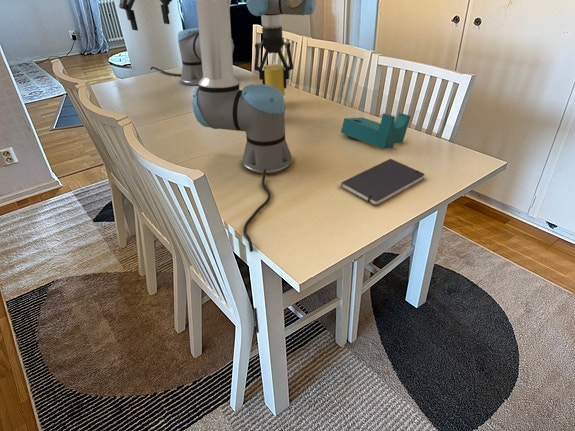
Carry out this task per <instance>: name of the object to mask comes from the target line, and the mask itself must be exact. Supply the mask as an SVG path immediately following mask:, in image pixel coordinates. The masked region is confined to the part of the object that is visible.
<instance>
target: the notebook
mask: <svg viewBox="0 0 575 431" xmlns="http://www.w3.org/2000/svg"><path fill="white" fill-rule="evenodd" d="M424 176H425V173H424V172H422V171H420V170H417V169H415V168H413V167H410V166H408V165H406V164H404V163H401V162H399V161H397V160H395V159H393V158H389V159H387V160H385V161H382V162H380V163H379V164H377V165H375V166H372V167H370V168H368V169H366V170H364V171H362V172H360V173H358V174H356V175H353V176H351V177H350V178H348V179H345V180H344V181H341V182H340V183H341V184H340V187H341V188H342V189H344V190H345V191H347V192H349V193H350V194H353V195H355V196H356V197H358V198H360V199H362V200H363V201H365V202H367V203H369V204H371V205H373V206H379V205H381V204H382V203H384V202H386V201H388V200H390V199H391V198H393V197H395V196H397V195H398V194H400V193H402V192H404V191H406V190H407V189H409V188H411V187H413V186H415V185H416V184H418V183H420V182H422V181H423V180H424Z"/></svg>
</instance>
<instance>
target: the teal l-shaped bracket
mask: <svg viewBox="0 0 575 431" xmlns="http://www.w3.org/2000/svg"><path fill="white" fill-rule="evenodd" d="M411 117H412V116H411V115H408V114H407V113H404V112H403V113H402V112H398V115H397V117H396V116H394V115H391V114H389V113H382V117H381V120H380V122H378V121H375V120H371V119H369V118H365V117H344V118H343V122H342V126H341V131H340V133H341V134H344V135H345V136H347V137H348V136H349V137H351V138H353V139H356V140H359V141H361V142H363V143H367V144H368V145H372V146H374V147H377V148H379V149H382V150H389V149H394V145H396V144H403V143H404V139H405V138H406V137H405V136H406V133H407V129H408V126H409V123H410V119H411Z"/></svg>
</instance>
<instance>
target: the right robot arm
mask: <svg viewBox="0 0 575 431" xmlns="http://www.w3.org/2000/svg"><path fill="white" fill-rule="evenodd" d="M316 4H317V0H246V7H247V9H248V11H249V13H250V14H252V15H253V16H255V17H261V26H262V28H261V33H262V34H261V35H262V36H261V37H262V39H261V42H258V41H257V42H256V41H255V43H254V48H255V56H254V67H253V69H254V71H257V72H258V76H259V80H260V81H262V83H252V84H247V85H245V86H243V88H242V89H240V81H239V80H238V79H237V78H236V77H235V76H234V63H233V60H234V59H233V54H232V43H231V38H232V28H231V26H232V25H231V10H230V9H231V6H230V7H229V0H195V5H196V13H197V14H196V15H197V25H198V26H197V28H199V37H200V48H201V59H202V70H203V78H202V79H201V80H200V81H199V83H198V85H197V86H198V87H196V88H195V89H194V91H193V93H192V99H191V106H192V111H193V115H194V118H195V119H196V121H197V122H198V123H199V124H200V125H201V126H203V127H204V128H210V129H213V130H228V131H237V132H244V133H245V136H246V137H245V138H246V143H245V146H244V151H243V155H242V166H243V168H244V170H246V171H247V172H249V173H252V174H254V175H255V174H256V175H262V177H261V178H262V179H261V185H262V188H263V189H264V190H265V192H266V193H267V197H266V200H265V201H264V202H263V203H261V205H259V207H257V208H256V210H254V212H253V213H252V214H251V215H250V217H249V218H248V219H247V220H246V222H245V223H244V226H243V236H244V238H245V239H246V240H247V242H248V246H249V247H248V248H249V252H250V253H252V252H254V247H253V242H252V238H251V237H250V235H249V234H248V232H247V229H248V226H249V224H250V223H251V222H252V220H253V219H254V218H255V217H256V216H257V215H258V213H259V212H260V211H261V210H262V209H263V208H264V207H265V206H267V204H268V203H269V202H270V200H271V196H272V194H271V192H270V190H269V188H267V186H266V183H265V182H266V176H269V175H277V174H280V173H283V172H286V171H287V170H289V169H290V167H291V166H292V163H293V158H292V153H291V150H290V148H289V145H288V143H287V140H286V115H285V114H286V105H285V98H284V96H283V94H282V93H281V91H279V90H278V89H277V88H275V87H273V86H269V85H265V80H264V66H265V63H266V61H267V59H268V55H269V54H277V55H278V57H279V59H280V61H281V64H282V65H283V66H284V88H285V89H287V80H289V79H290V71H293V70H294V62H293V57H292V52H291V44H292V42H291V41H284V38H283V27H282V26H283V15H290V16H311V15H313V14H314V13H315V9H316ZM283 46H284V48H285V49H286V53H287V54H286V55H287V58H288V63H289V65H288V63H287V61H286V58H285V56H284V54H283V51H282V48H283ZM262 47H263V49H264V50H265V51H264V54H263V57H262V60H261V63H260V66H259V60H260V59H259V58H260V57H259V56H260V50H261V49H262ZM252 308H253V318H254V326H255V327H254V328H255V333H256V334H258V333H260V328H259V319H258V308H257V307H252Z"/></svg>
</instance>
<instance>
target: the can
mask: <svg viewBox="0 0 575 431" xmlns="http://www.w3.org/2000/svg"><path fill="white" fill-rule="evenodd" d="M263 70H264V80H265V85H269V86H273V87H275V88H277V89H278V90H279V91H281V93H282V94H283V97H284V96H285V94H286V93H285V92H286V91H285V89H286V88H284V70H285V68H284V66H283V64H280V63H272V64H271V63H270V64H266V65H264V66H263Z"/></svg>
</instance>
